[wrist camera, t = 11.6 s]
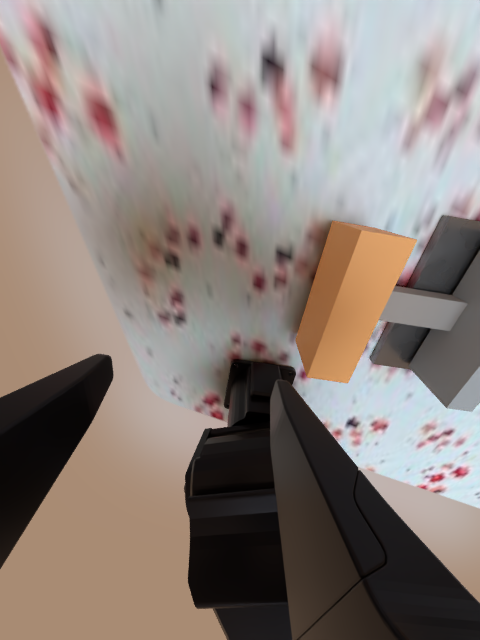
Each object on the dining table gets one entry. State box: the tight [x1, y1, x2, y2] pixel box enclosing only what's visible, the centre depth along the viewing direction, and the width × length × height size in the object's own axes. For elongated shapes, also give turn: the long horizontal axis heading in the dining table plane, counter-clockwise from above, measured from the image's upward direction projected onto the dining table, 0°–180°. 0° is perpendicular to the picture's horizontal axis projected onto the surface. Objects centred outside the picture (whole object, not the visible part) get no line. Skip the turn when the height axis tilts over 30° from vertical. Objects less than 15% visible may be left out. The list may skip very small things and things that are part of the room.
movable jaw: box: [296, 221, 480, 412], centre depth 17 cm, size 12×13×5 cm
